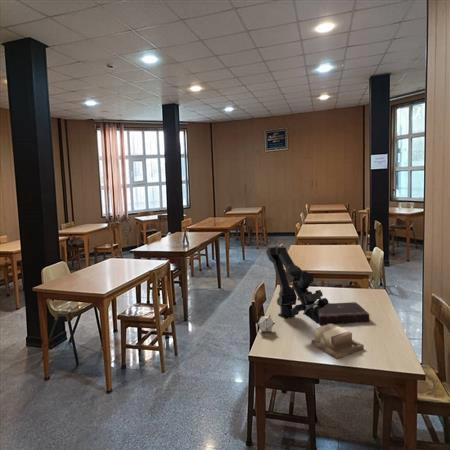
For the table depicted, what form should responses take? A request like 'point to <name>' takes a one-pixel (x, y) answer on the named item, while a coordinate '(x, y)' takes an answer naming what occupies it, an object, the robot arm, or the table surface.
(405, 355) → the table surface
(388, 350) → the table surface
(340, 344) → the maple block
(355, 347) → the felt tray
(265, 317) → the white spiky ball
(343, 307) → the diary
